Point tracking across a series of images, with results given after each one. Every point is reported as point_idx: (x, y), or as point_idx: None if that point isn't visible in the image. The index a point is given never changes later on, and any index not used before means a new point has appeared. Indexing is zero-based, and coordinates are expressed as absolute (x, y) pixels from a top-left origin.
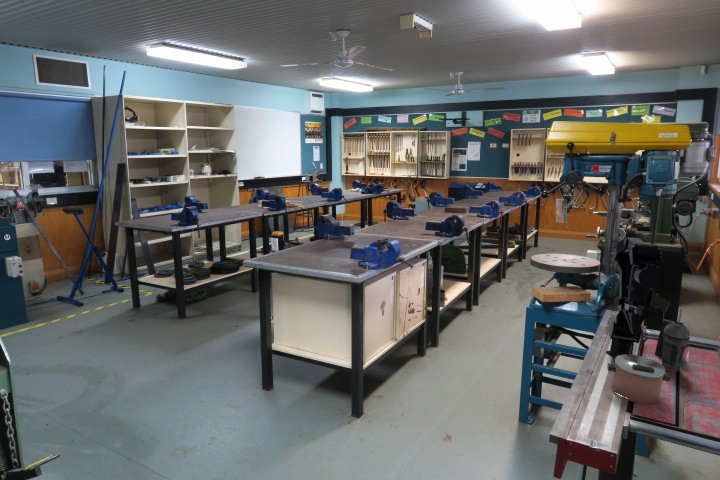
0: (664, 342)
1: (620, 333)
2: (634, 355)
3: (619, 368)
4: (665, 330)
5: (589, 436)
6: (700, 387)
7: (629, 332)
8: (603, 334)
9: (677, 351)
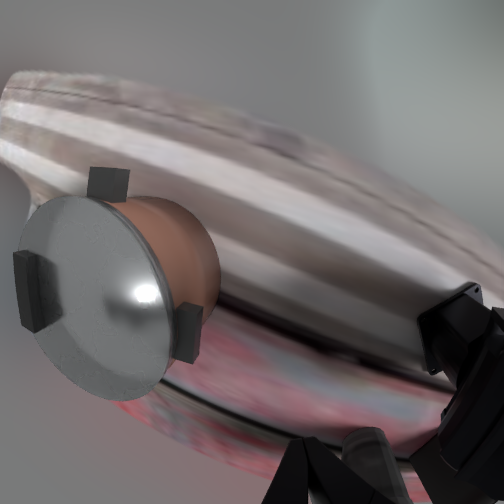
0: (382, 492)
1: (479, 364)
2: (160, 335)
3: None
4: None
5: (3, 119)
6: (254, 459)
7: (462, 412)
8: None
9: None
